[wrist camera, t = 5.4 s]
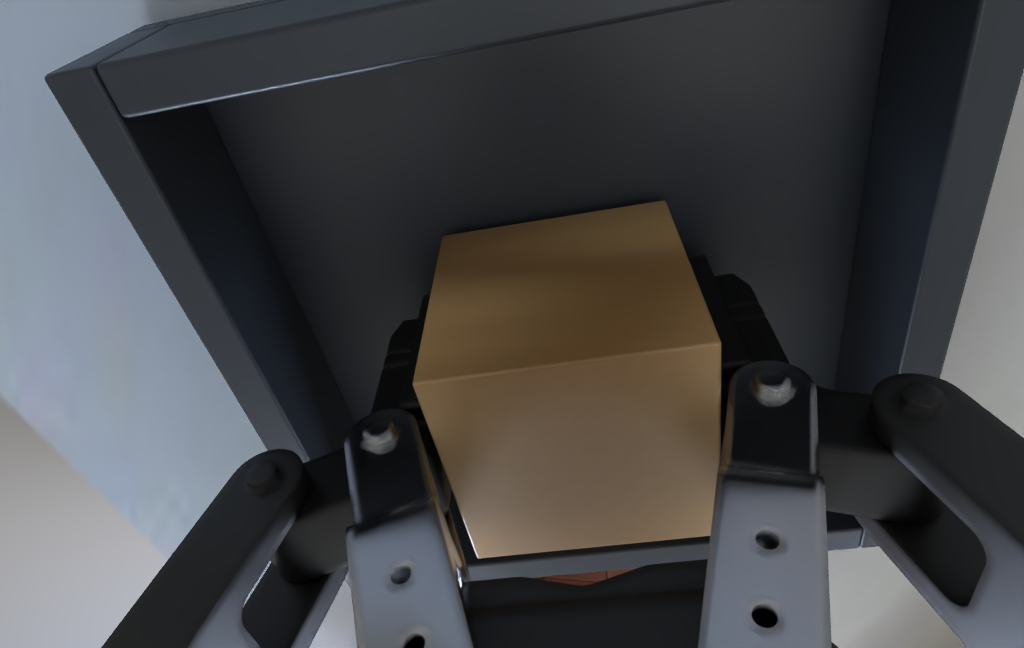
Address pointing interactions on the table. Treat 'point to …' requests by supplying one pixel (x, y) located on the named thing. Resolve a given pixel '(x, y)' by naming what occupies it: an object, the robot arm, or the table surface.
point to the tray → (549, 176)
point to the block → (573, 382)
